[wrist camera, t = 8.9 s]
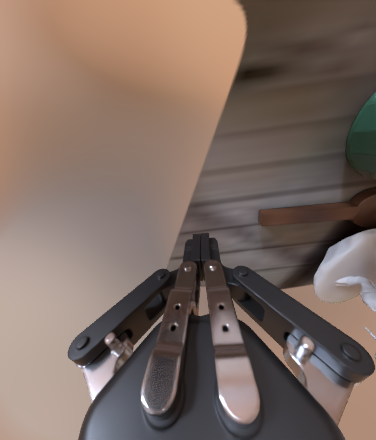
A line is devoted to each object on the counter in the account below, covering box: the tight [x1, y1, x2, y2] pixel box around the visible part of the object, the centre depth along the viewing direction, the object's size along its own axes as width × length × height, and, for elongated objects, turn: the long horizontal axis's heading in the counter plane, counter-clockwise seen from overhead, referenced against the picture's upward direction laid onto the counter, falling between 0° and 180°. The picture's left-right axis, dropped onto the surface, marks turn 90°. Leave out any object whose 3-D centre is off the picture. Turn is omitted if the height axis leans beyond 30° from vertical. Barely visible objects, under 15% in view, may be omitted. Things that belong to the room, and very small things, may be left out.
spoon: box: [258, 188, 376, 227], centre depth 17 cm, size 14×4×1 cm, turn 99°
